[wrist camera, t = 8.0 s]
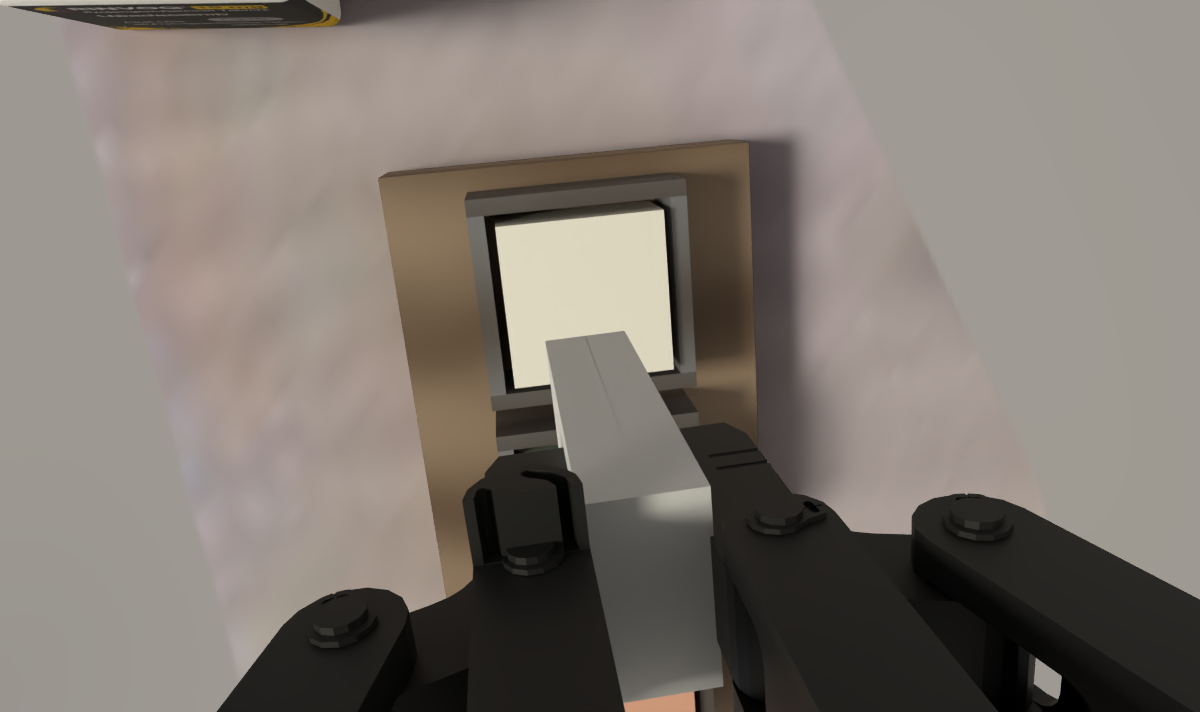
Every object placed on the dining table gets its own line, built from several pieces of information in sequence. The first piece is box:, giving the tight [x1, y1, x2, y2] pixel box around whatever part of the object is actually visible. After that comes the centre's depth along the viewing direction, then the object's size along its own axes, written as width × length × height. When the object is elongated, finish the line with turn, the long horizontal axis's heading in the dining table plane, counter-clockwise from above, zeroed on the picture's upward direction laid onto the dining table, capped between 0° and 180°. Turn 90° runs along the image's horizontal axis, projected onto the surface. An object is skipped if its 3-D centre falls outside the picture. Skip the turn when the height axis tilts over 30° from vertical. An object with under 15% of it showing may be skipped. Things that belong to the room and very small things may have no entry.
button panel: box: [378, 140, 758, 712], centre depth 30 cm, size 23×12×5 cm, turn 5°
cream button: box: [495, 201, 674, 389], centre depth 26 cm, size 5×5×2 cm
